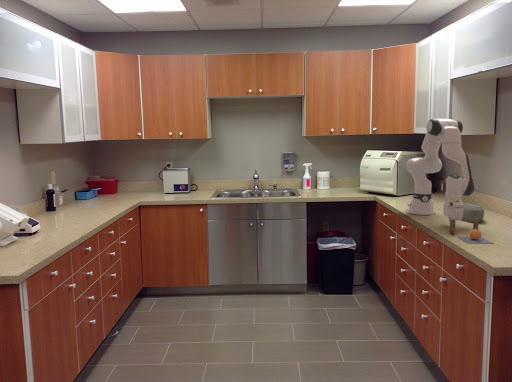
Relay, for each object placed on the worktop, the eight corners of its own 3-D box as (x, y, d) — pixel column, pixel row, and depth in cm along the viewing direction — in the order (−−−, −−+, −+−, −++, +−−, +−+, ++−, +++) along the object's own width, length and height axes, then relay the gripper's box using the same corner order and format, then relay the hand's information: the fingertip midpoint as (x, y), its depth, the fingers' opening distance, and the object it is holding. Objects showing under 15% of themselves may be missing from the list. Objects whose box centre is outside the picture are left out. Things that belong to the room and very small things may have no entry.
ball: (470, 242, 233) (466, 234, 237) (481, 241, 233) (477, 234, 237) (473, 234, 230) (469, 227, 234) (484, 234, 229) (479, 227, 234)
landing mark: (457, 237, 239) (457, 236, 239) (481, 237, 238) (481, 237, 238) (467, 243, 226) (467, 243, 226) (493, 243, 225) (493, 243, 225)
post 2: (471, 233, 247) (472, 219, 246) (476, 233, 247) (477, 219, 246) (473, 234, 244) (474, 220, 243) (478, 234, 244) (479, 220, 243)
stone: (495, 210, 272) (461, 209, 273) (493, 226, 274) (459, 225, 275) (477, 201, 299) (446, 199, 301) (475, 215, 301) (444, 214, 303)
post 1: (448, 233, 247) (449, 219, 246) (453, 233, 247) (454, 219, 246) (450, 234, 245) (451, 220, 244) (455, 234, 245) (456, 220, 244)
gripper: (441, 199, 271) (439, 221, 273) (454, 204, 251) (453, 228, 253) (451, 199, 271) (450, 221, 273) (465, 204, 251) (464, 228, 252)
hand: (451, 224), depth 262 cm, fingers closed
